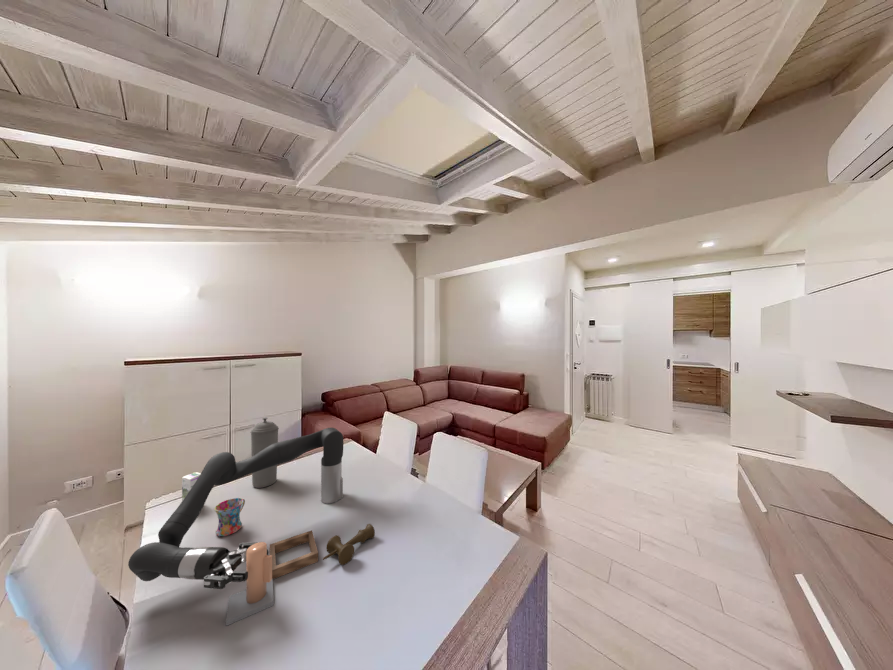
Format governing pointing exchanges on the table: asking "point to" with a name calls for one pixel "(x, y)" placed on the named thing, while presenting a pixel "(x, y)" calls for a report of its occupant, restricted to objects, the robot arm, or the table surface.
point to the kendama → (348, 544)
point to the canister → (261, 439)
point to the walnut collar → (297, 562)
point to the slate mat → (247, 605)
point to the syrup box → (188, 483)
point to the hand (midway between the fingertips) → (257, 564)
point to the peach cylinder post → (257, 572)
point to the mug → (229, 516)
